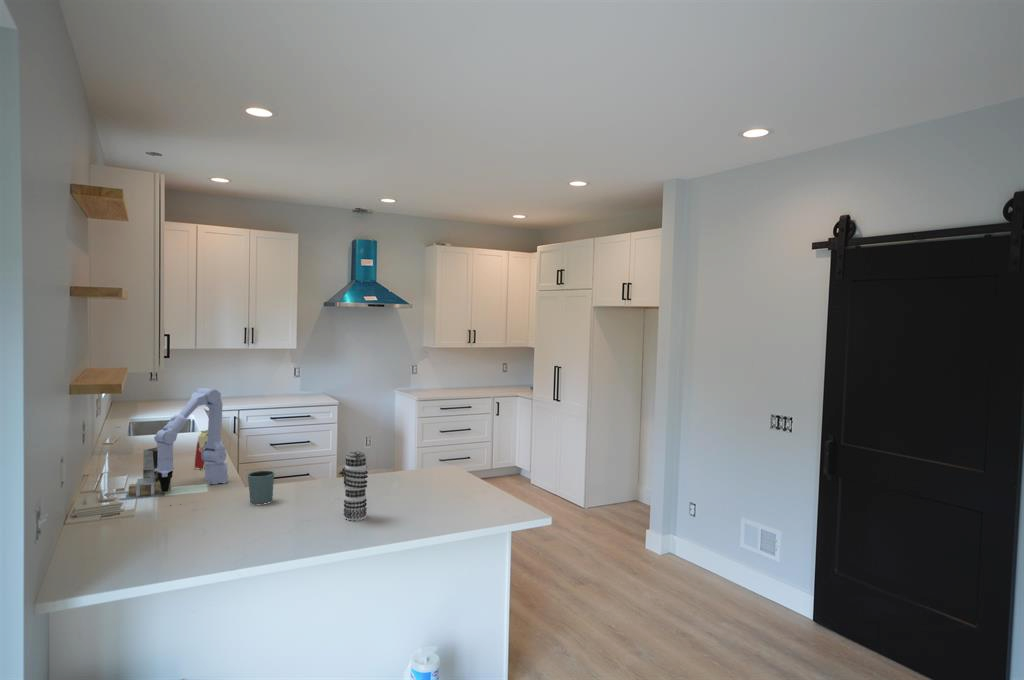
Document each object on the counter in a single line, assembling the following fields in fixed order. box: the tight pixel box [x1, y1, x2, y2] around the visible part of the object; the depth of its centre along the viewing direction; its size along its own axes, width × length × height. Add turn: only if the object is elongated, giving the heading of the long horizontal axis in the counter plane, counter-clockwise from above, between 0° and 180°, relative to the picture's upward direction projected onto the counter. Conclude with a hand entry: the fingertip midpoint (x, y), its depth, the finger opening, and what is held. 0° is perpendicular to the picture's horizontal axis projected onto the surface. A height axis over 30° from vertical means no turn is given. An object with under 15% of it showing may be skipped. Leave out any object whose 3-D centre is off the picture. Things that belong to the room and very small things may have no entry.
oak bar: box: [128, 480, 172, 496], centre depth 256 cm, size 15×4×4 cm, turn 118°
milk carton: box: [193, 429, 208, 470], centre depth 307 cm, size 9×9×20 cm
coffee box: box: [142, 446, 160, 482], centre depth 276 cm, size 9×6×16 cm
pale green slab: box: [103, 483, 209, 501], centre depth 258 cm, size 38×14×2 cm, turn 118°
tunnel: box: [135, 477, 155, 497], centre depth 256 cm, size 6×9×6 cm
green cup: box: [247, 470, 275, 505], centre depth 251 cm, size 10×10×12 cm
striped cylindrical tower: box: [343, 451, 369, 522], centre depth 234 cm, size 9×9×25 cm
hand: (165, 490), depth 259 cm, fingers closed on oak bar, 4 cm apart
